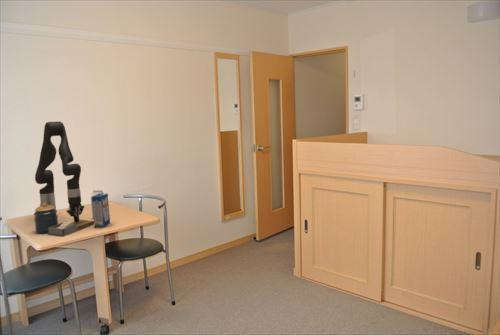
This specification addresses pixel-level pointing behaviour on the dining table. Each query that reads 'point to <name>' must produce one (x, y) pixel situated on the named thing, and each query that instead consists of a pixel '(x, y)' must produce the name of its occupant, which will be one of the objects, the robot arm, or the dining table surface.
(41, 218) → the canister
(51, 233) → the tray
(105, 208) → the milk carton
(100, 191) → the milk carton
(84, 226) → the board
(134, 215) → the dining table surface
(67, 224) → the tile
